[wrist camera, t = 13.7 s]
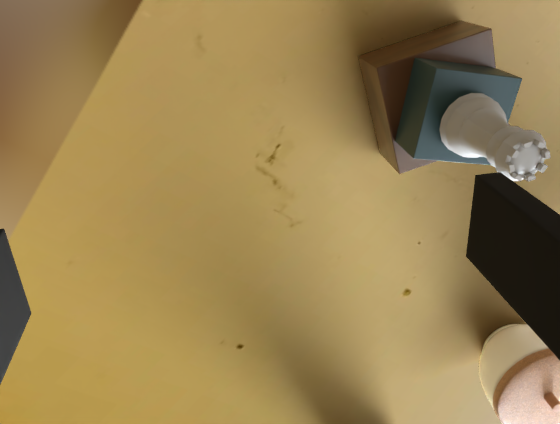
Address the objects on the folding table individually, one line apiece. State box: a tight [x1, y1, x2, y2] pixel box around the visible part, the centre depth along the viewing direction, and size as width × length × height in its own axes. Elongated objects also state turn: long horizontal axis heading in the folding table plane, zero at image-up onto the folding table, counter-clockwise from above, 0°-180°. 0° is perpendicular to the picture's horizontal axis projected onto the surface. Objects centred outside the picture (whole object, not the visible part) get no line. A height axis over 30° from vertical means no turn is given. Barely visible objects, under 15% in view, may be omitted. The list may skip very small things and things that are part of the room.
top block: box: [395, 58, 522, 165], centre depth 40 cm, size 6×6×4 cm
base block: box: [358, 21, 496, 174], centre depth 44 cm, size 9×9×5 cm
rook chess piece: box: [439, 93, 550, 182], centre depth 35 cm, size 4×4×8 cm
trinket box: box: [478, 324, 560, 424], centre depth 57 cm, size 11×11×9 cm
